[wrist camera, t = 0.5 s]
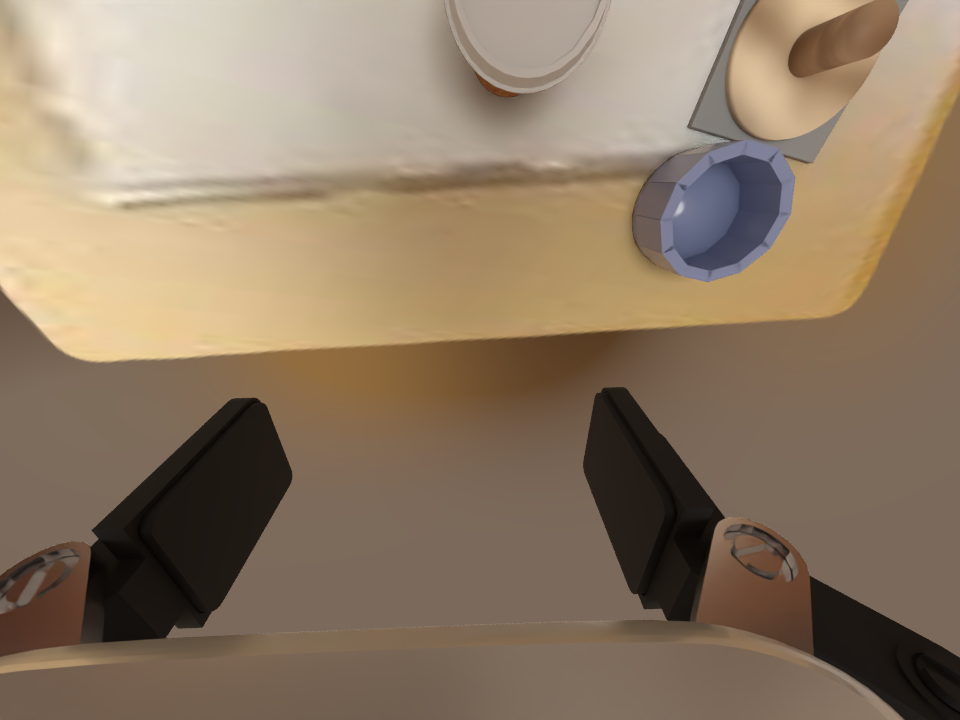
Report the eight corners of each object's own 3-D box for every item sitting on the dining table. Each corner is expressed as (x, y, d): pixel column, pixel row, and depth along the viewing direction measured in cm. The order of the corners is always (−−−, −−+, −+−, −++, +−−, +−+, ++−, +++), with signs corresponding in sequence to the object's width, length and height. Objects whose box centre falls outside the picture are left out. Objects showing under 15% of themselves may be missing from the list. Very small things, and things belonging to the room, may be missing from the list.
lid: (781, -70, 25) (864, -136, 20) (912, -18, 27) (1021, -66, 21) (698, 121, 31) (747, 109, 25) (811, 155, 32) (879, 151, 27)
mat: (773, -77, 25) (780, -83, 25) (914, -21, 27) (923, -25, 27) (687, 127, 31) (691, 126, 31) (807, 163, 33) (812, 162, 32)
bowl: (662, 134, 32) (701, 125, 26) (765, 164, 33) (822, 161, 28) (615, 253, 36) (640, 266, 31) (706, 275, 38) (744, 290, 33)
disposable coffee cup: (570, 104, 30) (625, 65, 20) (466, 131, 31) (465, 106, 20) (559, -47, 26) (622, -204, 15) (438, -12, 26) (418, -139, 16)
